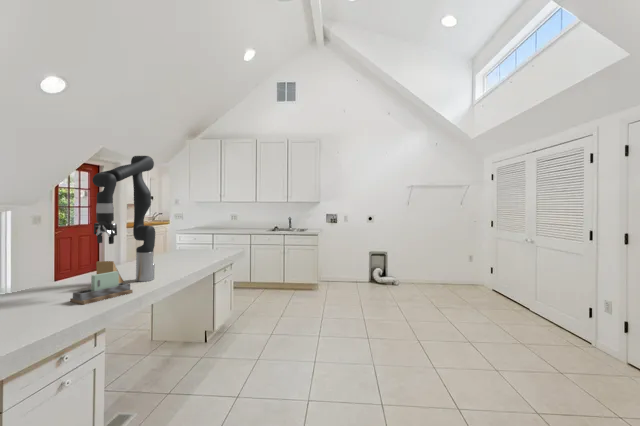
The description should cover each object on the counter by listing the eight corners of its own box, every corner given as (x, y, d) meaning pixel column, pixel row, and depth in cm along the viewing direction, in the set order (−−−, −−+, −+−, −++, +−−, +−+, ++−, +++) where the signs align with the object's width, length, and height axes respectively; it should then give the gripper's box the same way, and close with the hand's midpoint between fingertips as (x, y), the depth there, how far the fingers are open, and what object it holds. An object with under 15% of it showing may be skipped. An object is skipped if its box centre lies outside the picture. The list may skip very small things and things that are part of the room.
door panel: (115, 290, 170) (115, 271, 170) (118, 291, 169) (119, 271, 169) (91, 296, 159) (91, 275, 159) (94, 296, 158) (95, 275, 158)
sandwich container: (124, 282, 197) (125, 257, 196) (113, 288, 181) (113, 261, 181) (109, 282, 195) (109, 257, 195) (96, 288, 180) (96, 261, 180)
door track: (119, 290, 176) (119, 282, 176) (132, 292, 172) (132, 284, 172) (70, 301, 154) (70, 292, 154) (84, 304, 150) (84, 294, 150)
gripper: (121, 212, 172) (121, 243, 173) (102, 211, 178) (103, 241, 179) (107, 212, 166) (107, 245, 166) (88, 212, 171) (88, 243, 172)
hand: (105, 243), depth 172 cm, fingers open, 8 cm apart
